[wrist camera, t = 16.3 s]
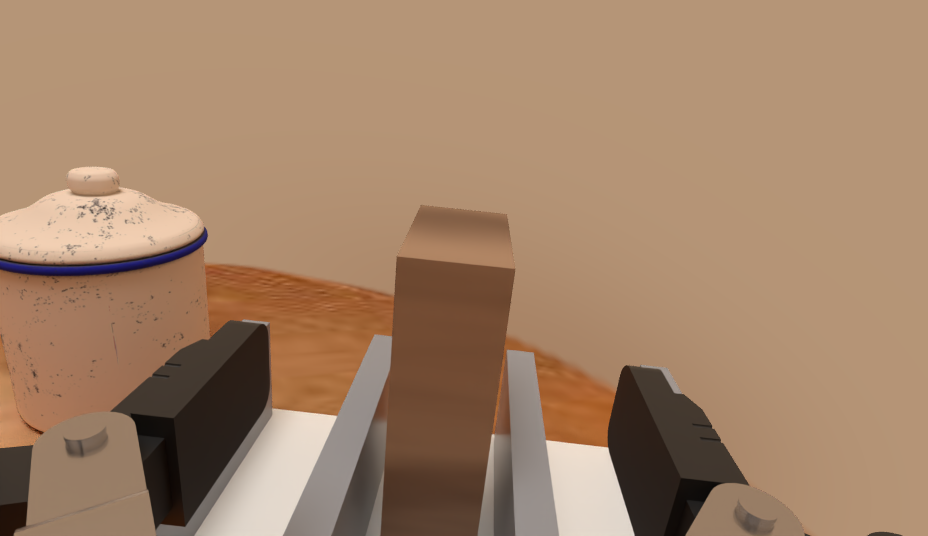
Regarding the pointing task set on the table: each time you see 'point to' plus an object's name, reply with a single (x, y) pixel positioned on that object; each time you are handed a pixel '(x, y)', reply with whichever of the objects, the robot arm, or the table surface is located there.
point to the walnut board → (445, 370)
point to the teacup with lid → (96, 294)
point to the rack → (363, 459)
